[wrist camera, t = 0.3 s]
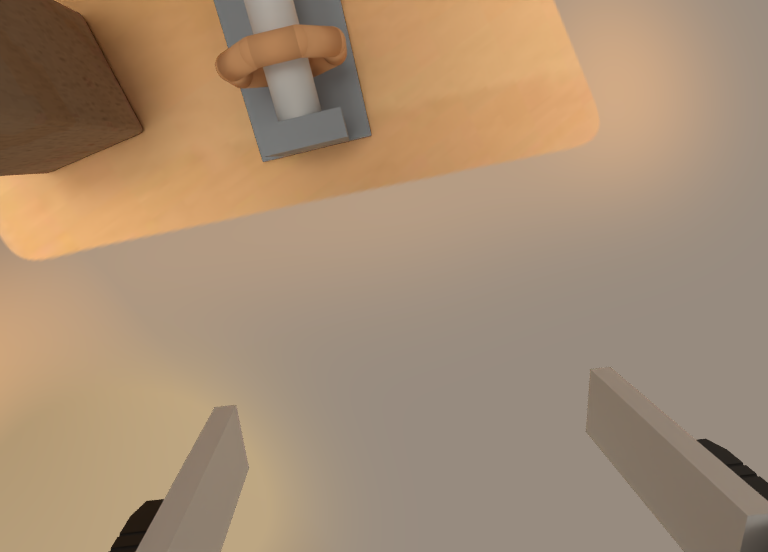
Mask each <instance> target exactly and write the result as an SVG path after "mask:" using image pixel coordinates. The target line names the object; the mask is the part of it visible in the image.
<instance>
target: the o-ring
mask: <svg viewBox="0 0 768 552" xmlns="http://www.w3.org/2000/svg"><path fill="white" fill-rule="evenodd" d="M346 56H347V47H346V39H345V36H344V34H343V32H342V31H341V30H340V29H339V28H337V27H334V26H318V25H300V24H296V25H291V26H286V27H282V28H278V29H274V30H270V31H266V32H262V33H258V34H254V35H250V36H246V37H244V38H242V39H241V40H240V41H238V42H237V43H235V44H234V45H232V46H231V47H230V48H228V49H227V50H225V51H224V52H223V53H221V54H220V55H219V56H218V57H217V59H216V63H215V66H216V71H217V73H218V74H219V76H220V77H221V78H222V79H224V80H225V81H227V82H229V83H231V84H232V85H234V86H236V87H238V88H243V89H244V88H258V87H268V83H267V80H266V77H265V73H264V70H263V67H265V66H269V65H274V64H278V63H282V62H286V61H290V60H294V59H298V58H308V60H309V63H310V67H311V71H312V75H313V77H316V76H318V75H320V74H322V73H324V72H326V71H328V70H330V69H332V68H335V67H337V66H339V65H341V64H342V63H343V62H344V61H345V59H346Z"/></svg>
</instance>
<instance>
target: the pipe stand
mask: <svg viewBox="0 0 768 552" xmlns="http://www.w3.org/2000/svg"><path fill="white" fill-rule="evenodd" d="M214 3H215V6H216V10H217V13H218V16H219V20H220V23H221V26H222V29H223V33H224V36H225V39H226V42H227V46H228V48H230V47H231V46H232V45H234V44H235V43H237V42H238V41H240V40H241V39H242V38H244V37H246V36H250V35H254V34H258V33H262V32H266V31H270V30H274V29H278V28H282V27H286V26H291V25H296V24H300V25H318V26H334V27H337V28H339V29H340V30H341V31H342V32H343V34H344V36H345V39H346V47H347V56H346V59H345V61H344V62H343V63H342V64H341V65H339V66H337V67H335V68H332V69H330V70H328V71H326V72H324V73H322V74H320V75H318V76H316V77H313V75H312V71H311V67H310V63H309V60H308V58H298V59H294V60H290V61H286V62H282V63H278V64H274V65H269V66H265V67H263V70H264V73H265V77H266V80H267V83H268V87H258V88H244V89H243V88H241V92H242V95H243V98H244V101H245V105H246V108H247V111H248V115H249V118H250V121H251V124H252V128H253V131H254V134H255V138H256V141H257V144H258V147H259V151H260V154H261V157H262V161H263V162H266V161H270V160H274V159H278V158H282V157H286V156H290V155H294V154H298V153H303V152H307V151H311V150H315V149H319V148H323V147H327V146H331V145H335V144H339V143H344V142H348V141H352V140H356V139H360V138H364V137H368V136H371V131H370V127H369V123H368V118H367V114H366V110H365V105H364V101H363V96H362V92H361V88H360V83H359V79H358V75H357V70H356V66H355V62H354V57H353V53H352V49H351V44H350V40H349V35H348V31H347V27H346V22H345V18H344V14H343V9H342V5H341V1H340V0H214Z"/></svg>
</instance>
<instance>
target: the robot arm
mask: <svg viewBox="0 0 768 552" xmlns="http://www.w3.org/2000/svg"><path fill="white" fill-rule="evenodd" d="M586 432H587V434H588V435H589V436H590V437H591V438H592V440H593V441H594V442H595V443H596V445H597V446H598V447H599V448H600V450H601V451H602V452H603V453H604V455H605V456H606V457H607V458H608V459H609V461H610V462H611V463H612V464H613V466H614V467H615V468H616V469H617V470H618V472H619V473H620V474H621V475H622V477H623V478H624V479H625V480H626V481H627V483H628V484H629V485H630V486H631V488H632V489H633V490H634V491H635V492H636V493H637V495H638V496H639V497H640V498H641V500H642V501H643V502H644V503H645V505H646V506H647V507H648V508H649V509H650V511H651V512H652V513H653V514H654V515H655V517H656V518H657V519H658V521H659V522H660V523H661V524H662V525H663V527H664V528H665V529H666V530H667V532H668V533H669V534H670V535H671V536H672V538H673V539H674V540H675V541H676V542H677V544H678V545H679V546H680V547H681V549H682V550H683V551H684V552H768V483H767V482H766V481H765V480H764V479H762V478H761V477H758V476H757V475H756V473H755V472H754V471H752V470H751V469H750V468H749V467H748V466H746V465H743V463H742V462H741V461H740V460H739V459H738V458H736V457H735V456H734V455H733V454H731V453H730V452H729V451H728V450H727V449H725V448H723V447H721V446H719V445H717V444H715V443H713V442H711V441H709V440H707V439H699V440H695V439H694V438H693V437H692V436H691V435H690V434H688V433H687V432H686V431H685V430H684V429H683V428H681V427H680V426H679V425H678V424H677V423H676V422H674V421H673V420H672V419H671V418H669V417H668V416H667V415H666V414H665V413H664V412H663V411H661V410H660V409H659V408H658V407H657V406H656V405H654V404H653V403H652V402H651V401H650V400H648V399H647V398H646V397H645V396H644V395H643V394H641V393H640V392H639V391H638V390H637V389H635V388H634V387H633V386H632V385H631V384H630V383H629V382H627V381H626V380H625V379H624V378H623V377H621V376H620V375H619V374H618V373H617V372H616V371H614V370H613V369H612V368H611V367H606V368H596V369H590V381H589V395H588V408H587V422H586ZM248 469H249V466H248V461H247V456H246V451H245V446H244V442H243V436H242V431H241V427H240V421H239V416H238V412H237V407H236V405H231V406H221V407H215V408H214V409H213V412H212V413H211V415H210V417H209V418H208V421H207V422H206V424H205V426H204V428H203V430H202V431H201V433H200V435H199V437H198V439H197V440H196V442H195V444H194V446H193V448H192V450H191V451H190V453H189V455H188V457H187V459H186V460H185V462H184V464H183V466H182V468H181V470H180V471H179V473H178V475H177V477H176V479H175V481H174V482H173V484H172V486H171V488H170V490H169V492H168V494H167V495H166V497H165V499H161V500H152V501H146V502H145V503H144V504H143V505H142V506H141V507H140V508H139V509H138V510H137V511H136V512H135V513H134V514H132V515H131V516H130V518H129V520H128V521H127V523H126V525H125V526H124V528H123V529H122V531H121V532H120V536H119V537H117V539H116V540H115V542H114V544H113V545H112V547H111V551H110V552H221V549H222V546H223V543H224V540H225V537H226V534H227V531H228V528H229V525H230V522H231V519H232V516H233V513H234V510H235V508H236V505H237V501H238V498H239V496H240V492H241V490H242V487H243V483H244V481H245V478H246V475H247V472H248Z"/></svg>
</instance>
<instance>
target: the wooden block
mask: <svg viewBox="0 0 768 552" xmlns="http://www.w3.org/2000/svg"><path fill="white" fill-rule="evenodd" d="M141 131H142V127H141V125H140V123H139V121H138V119H137V117H136V115H135V113H134V112H133V110H132V108H131V106H130V104H129V102H128V100H127V99H126V97H125V95H124V93H123V91H122V89H121V87H120V85H119V84H118V82H117V80H116V78H115V76H114V74H113V72H112V70H111V69H110V67H109V65H108V63H107V61H106V59H105V57H104V56H103V54H102V52H101V50H100V48H99V46H98V44H97V42H96V41H95V39H94V37H93V35H92V33H91V31H90V29H89V27H88V26H87V24H86V22H85V20H84V18H83V17H82V16H81V15H80V14H79V13H77V12H75V11H73V10H72V9H70V8H68V7H66V6H64V5H62V4H60V3H58V2H56V1H54V0H0V176H5V175H23V174H40V173H49V172H51V171H54V170H56V169H58V168H61V167H63V166H65V165H68V164H70V163H72V162H75V161H77V160H79V159H82V158H84V157H86V156H89V155H91V154H93V153H96V152H98V151H100V150H103V149H105V148H107V147H110V146H112V145H114V144H117V143H119V142H121V141H124V140H126V139H128V138H131V137H133V136H135V135H138V134H139V133H140V132H141Z"/></svg>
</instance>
